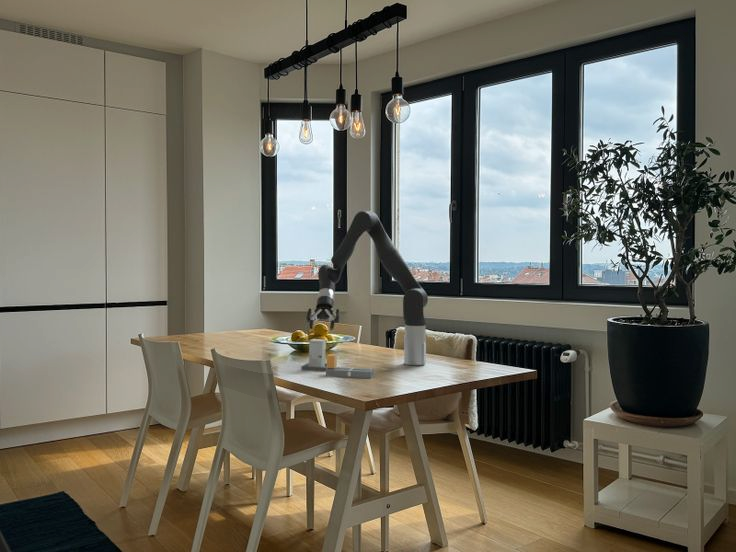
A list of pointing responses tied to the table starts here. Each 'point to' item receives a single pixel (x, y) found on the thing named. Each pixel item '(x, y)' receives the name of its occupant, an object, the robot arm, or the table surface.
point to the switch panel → (350, 372)
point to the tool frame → (313, 368)
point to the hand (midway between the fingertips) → (321, 328)
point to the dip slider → (332, 361)
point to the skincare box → (317, 353)
